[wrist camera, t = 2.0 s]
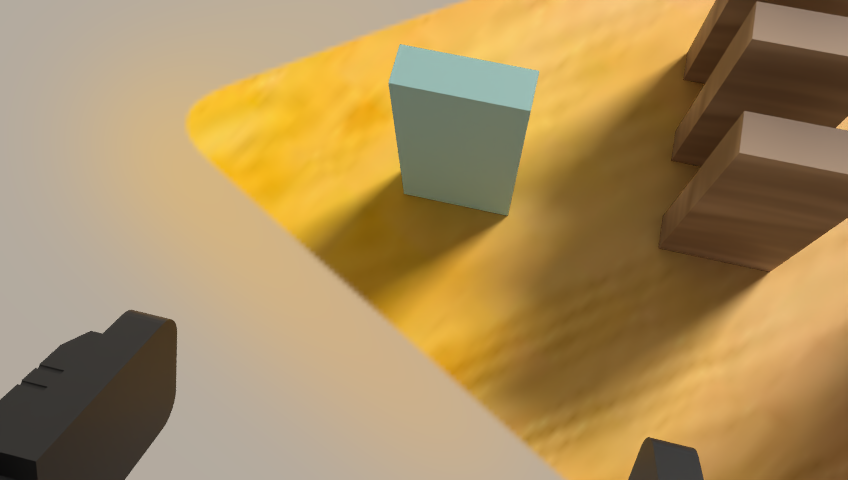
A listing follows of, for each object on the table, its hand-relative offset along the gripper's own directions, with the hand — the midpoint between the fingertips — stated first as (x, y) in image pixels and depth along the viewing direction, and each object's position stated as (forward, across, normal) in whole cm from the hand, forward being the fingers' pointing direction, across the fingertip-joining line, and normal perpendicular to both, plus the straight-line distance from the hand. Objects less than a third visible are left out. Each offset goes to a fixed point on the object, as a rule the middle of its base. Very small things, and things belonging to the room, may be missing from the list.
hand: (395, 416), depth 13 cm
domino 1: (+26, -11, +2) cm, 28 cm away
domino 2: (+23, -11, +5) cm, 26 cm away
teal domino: (+23, +1, +5) cm, 24 cm away
